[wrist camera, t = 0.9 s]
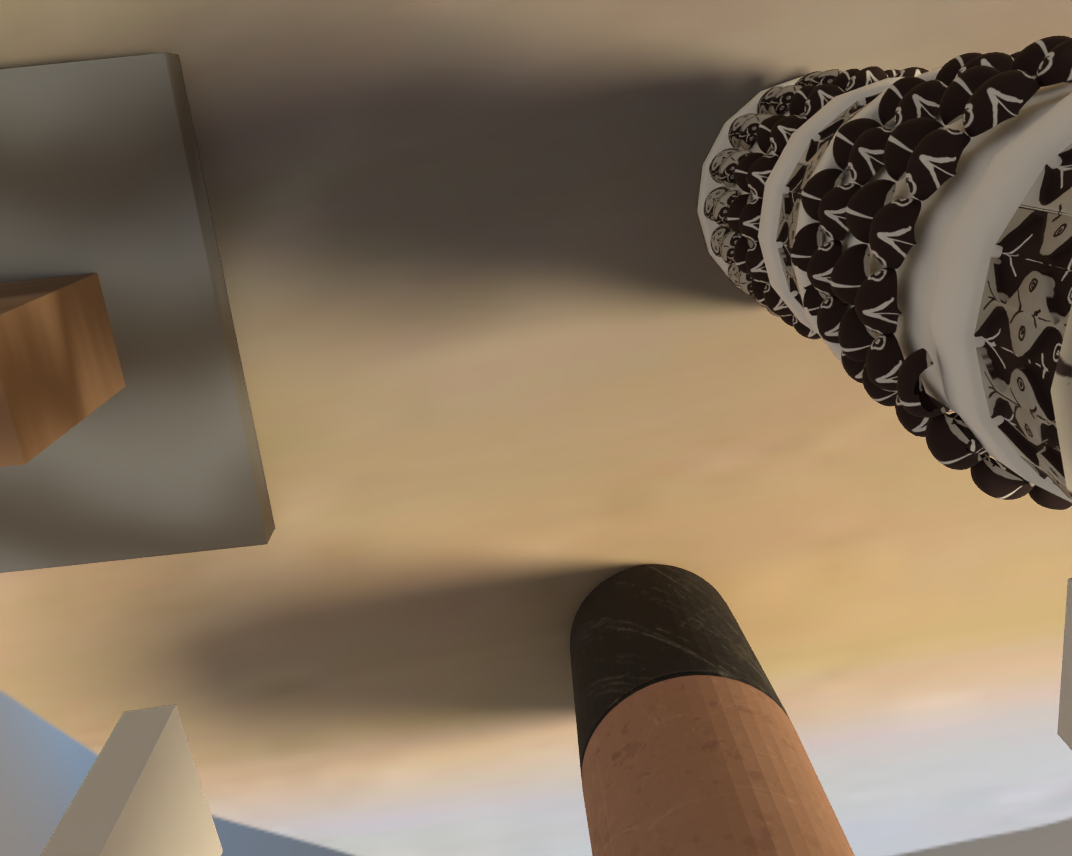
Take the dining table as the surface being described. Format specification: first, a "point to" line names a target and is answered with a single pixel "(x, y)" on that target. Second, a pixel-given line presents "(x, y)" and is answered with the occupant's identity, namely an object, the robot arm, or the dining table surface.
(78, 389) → the grey base with post
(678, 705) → the travel mug
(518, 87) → the dining table surface
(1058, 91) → the decorative candle
